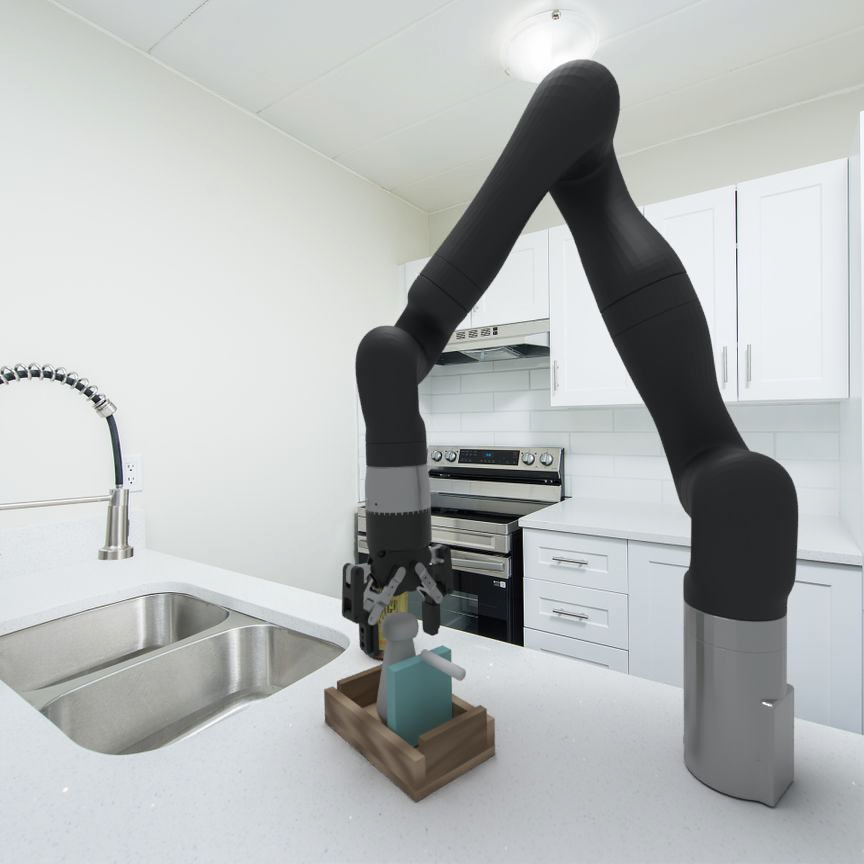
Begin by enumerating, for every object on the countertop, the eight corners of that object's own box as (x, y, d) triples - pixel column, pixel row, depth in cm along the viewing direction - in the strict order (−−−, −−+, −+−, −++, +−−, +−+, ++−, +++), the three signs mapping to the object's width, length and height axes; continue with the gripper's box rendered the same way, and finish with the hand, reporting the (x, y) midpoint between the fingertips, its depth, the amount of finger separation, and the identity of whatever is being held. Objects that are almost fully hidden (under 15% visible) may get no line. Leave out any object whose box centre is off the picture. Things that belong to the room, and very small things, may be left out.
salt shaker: (420, 743, 58) (418, 627, 58) (370, 738, 60) (368, 624, 59) (430, 714, 64) (428, 608, 64) (384, 710, 65) (382, 605, 65)
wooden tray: (495, 754, 58) (494, 704, 58) (416, 802, 51) (415, 746, 51) (397, 690, 72) (396, 650, 72) (324, 721, 65) (323, 677, 65)
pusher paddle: (490, 751, 56) (489, 656, 56) (432, 785, 51) (431, 682, 51) (443, 721, 62) (442, 635, 62) (387, 749, 57) (386, 655, 57)
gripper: (363, 517, 54) (368, 675, 54) (465, 499, 63) (469, 635, 63) (326, 508, 59) (331, 652, 60) (425, 494, 68) (429, 618, 69)
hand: (402, 643), depth 61 cm, fingers open, 8 cm apart
